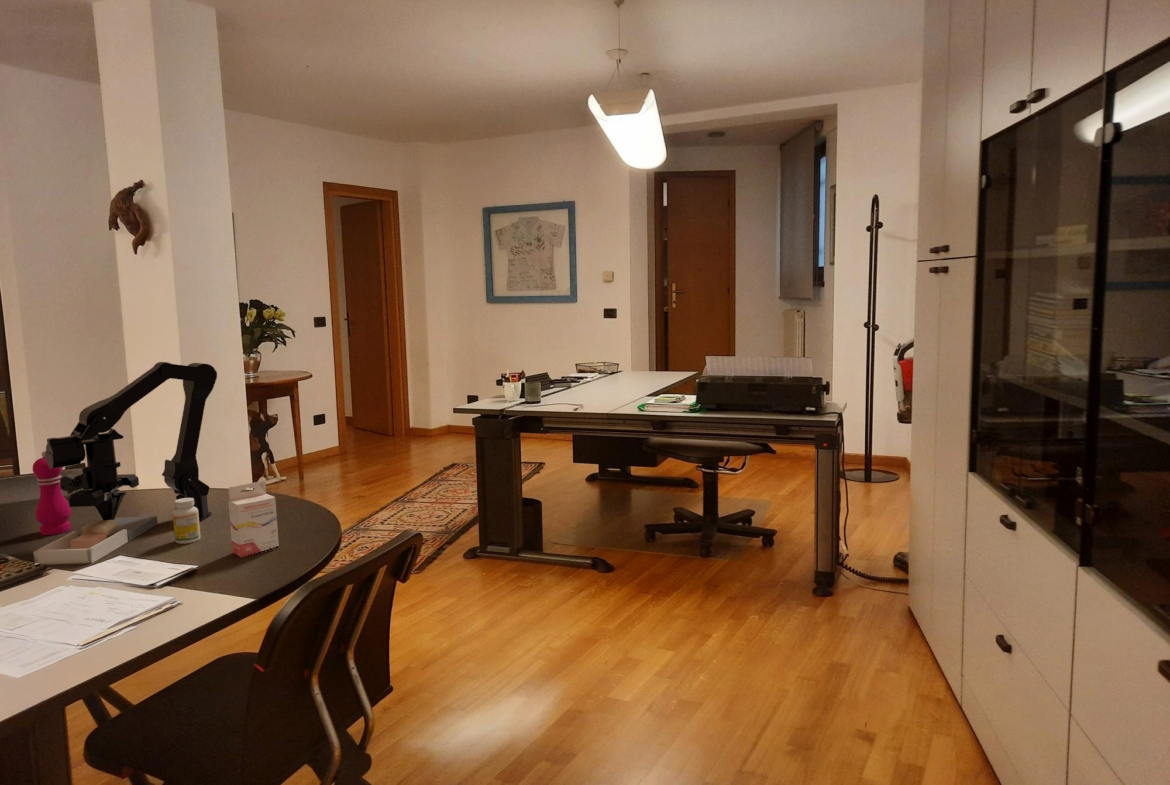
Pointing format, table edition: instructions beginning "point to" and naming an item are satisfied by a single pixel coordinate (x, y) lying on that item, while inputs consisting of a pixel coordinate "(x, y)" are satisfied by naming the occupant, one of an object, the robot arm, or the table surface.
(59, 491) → the pepper mill
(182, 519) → the supplement bottle
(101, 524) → the birch tile
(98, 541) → the terracotta tile
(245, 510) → the ink cartridge box
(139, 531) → the board
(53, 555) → the box
